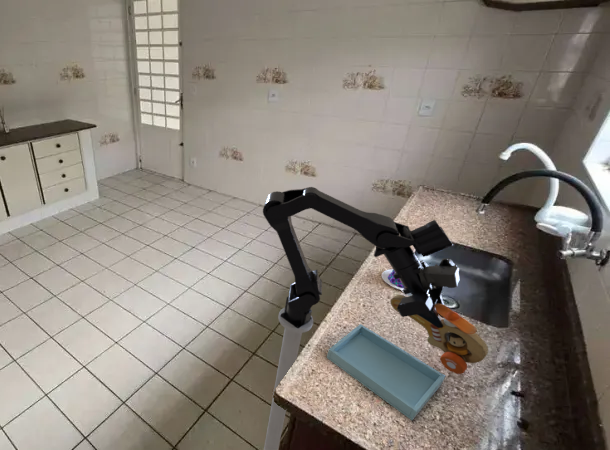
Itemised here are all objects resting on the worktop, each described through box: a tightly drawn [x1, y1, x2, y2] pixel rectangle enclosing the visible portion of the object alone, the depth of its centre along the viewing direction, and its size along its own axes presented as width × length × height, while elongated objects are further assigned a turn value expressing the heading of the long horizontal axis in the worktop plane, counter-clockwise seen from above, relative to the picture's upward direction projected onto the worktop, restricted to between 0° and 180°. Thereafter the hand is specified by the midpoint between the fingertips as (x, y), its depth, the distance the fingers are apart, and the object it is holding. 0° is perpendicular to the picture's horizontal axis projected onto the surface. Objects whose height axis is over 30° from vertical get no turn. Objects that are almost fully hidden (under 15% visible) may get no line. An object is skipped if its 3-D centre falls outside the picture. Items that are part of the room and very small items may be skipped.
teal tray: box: [326, 323, 446, 421], centre depth 84 cm, size 21×15×3 cm
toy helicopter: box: [389, 294, 489, 375], centre depth 82 cm, size 8×21×14 cm, turn 32°
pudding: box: [381, 268, 405, 291], centre depth 114 cm, size 12×12×5 cm
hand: (443, 322), depth 81 cm, fingers closed on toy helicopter, 4 cm apart
